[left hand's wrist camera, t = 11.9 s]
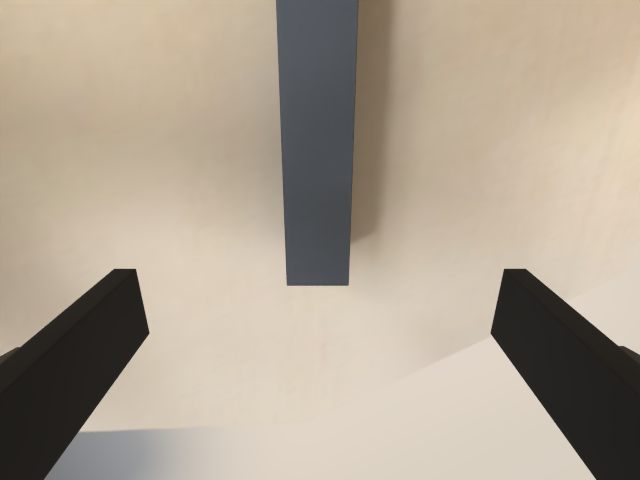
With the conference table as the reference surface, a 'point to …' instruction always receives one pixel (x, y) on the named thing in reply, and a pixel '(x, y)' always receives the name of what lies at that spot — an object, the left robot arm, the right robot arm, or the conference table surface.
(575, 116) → the conference table surface
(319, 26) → the beam
